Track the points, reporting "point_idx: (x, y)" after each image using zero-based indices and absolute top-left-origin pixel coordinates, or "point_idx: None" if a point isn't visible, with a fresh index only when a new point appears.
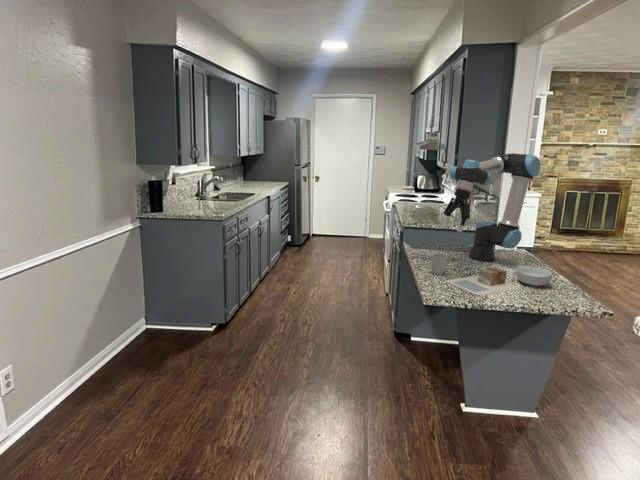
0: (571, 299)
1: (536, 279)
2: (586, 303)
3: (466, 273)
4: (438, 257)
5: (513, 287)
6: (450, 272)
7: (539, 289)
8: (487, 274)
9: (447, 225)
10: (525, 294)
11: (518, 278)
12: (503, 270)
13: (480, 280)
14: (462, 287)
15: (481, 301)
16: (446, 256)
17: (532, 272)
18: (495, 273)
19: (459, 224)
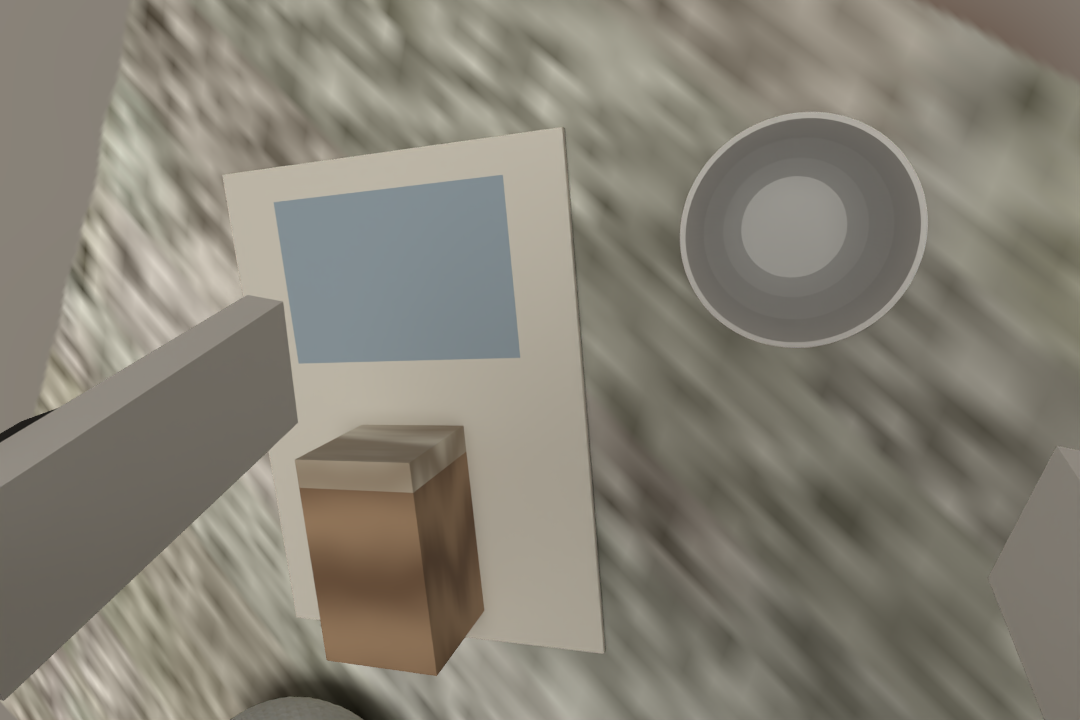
0: (118, 707)
1: None
2: (69, 716)
3: (696, 532)
4: (883, 289)
5: (305, 574)
6: (778, 401)
7: None
8: (334, 454)
9: (1024, 647)
10: (209, 537)
11: (353, 717)
12: (345, 648)
13: (431, 431)
14: (377, 175)
15: (150, 121)
16: (758, 333)
17: None
18: (308, 518)
19: (99, 383)
